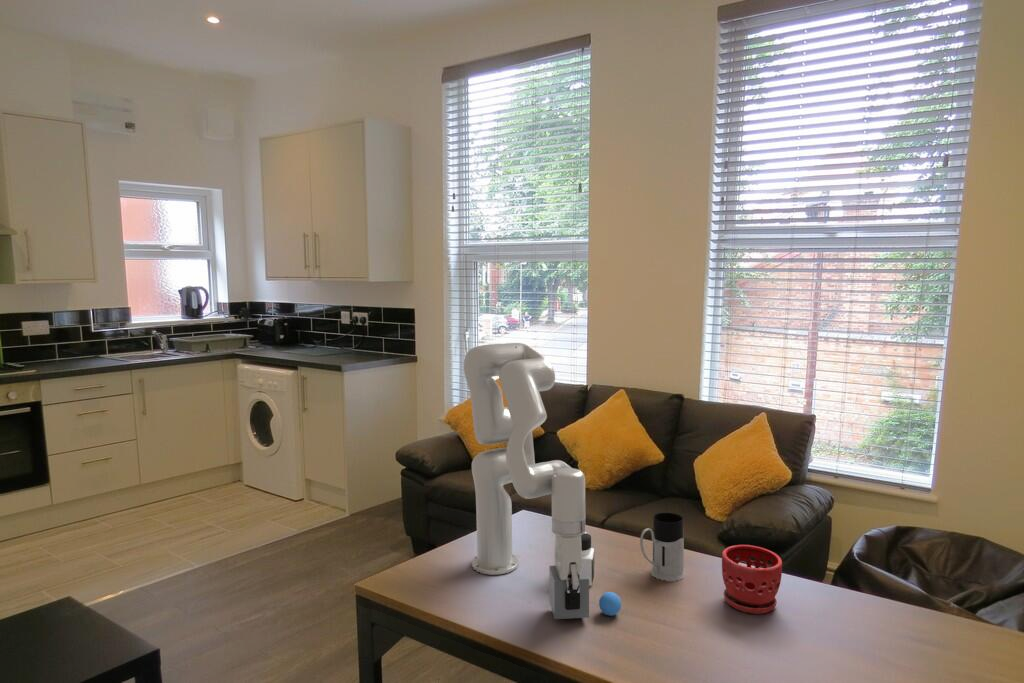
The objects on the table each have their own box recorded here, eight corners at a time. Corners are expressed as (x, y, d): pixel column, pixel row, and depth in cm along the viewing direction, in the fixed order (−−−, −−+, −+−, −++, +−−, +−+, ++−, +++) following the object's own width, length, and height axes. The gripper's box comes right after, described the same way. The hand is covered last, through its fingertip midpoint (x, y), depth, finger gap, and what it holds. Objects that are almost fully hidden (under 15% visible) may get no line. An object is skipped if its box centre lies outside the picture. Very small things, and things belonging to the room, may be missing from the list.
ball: (620, 589, 148) (617, 610, 148) (599, 586, 148) (596, 607, 148) (624, 599, 143) (621, 621, 143) (602, 596, 143) (599, 618, 143)
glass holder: (692, 575, 165) (693, 518, 164) (654, 590, 157) (654, 531, 156) (666, 563, 172) (666, 509, 171) (628, 577, 164) (628, 520, 163)
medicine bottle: (592, 586, 159) (592, 540, 158) (564, 584, 161) (563, 538, 160) (594, 574, 166) (594, 529, 165) (567, 572, 168) (566, 527, 167)
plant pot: (711, 606, 148) (712, 556, 148) (735, 586, 158) (736, 539, 157) (768, 625, 140) (769, 572, 139) (789, 603, 149) (790, 554, 148)
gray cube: (549, 602, 148) (549, 565, 148) (582, 600, 149) (582, 564, 148) (554, 619, 141) (554, 580, 140) (589, 617, 142) (589, 578, 141)
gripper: (546, 511, 152) (547, 583, 153) (558, 540, 134) (559, 620, 136) (577, 510, 152) (578, 581, 154) (593, 538, 135) (593, 618, 137)
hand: (569, 599), depth 145 cm, fingers closed on gray cube, 7 cm apart
